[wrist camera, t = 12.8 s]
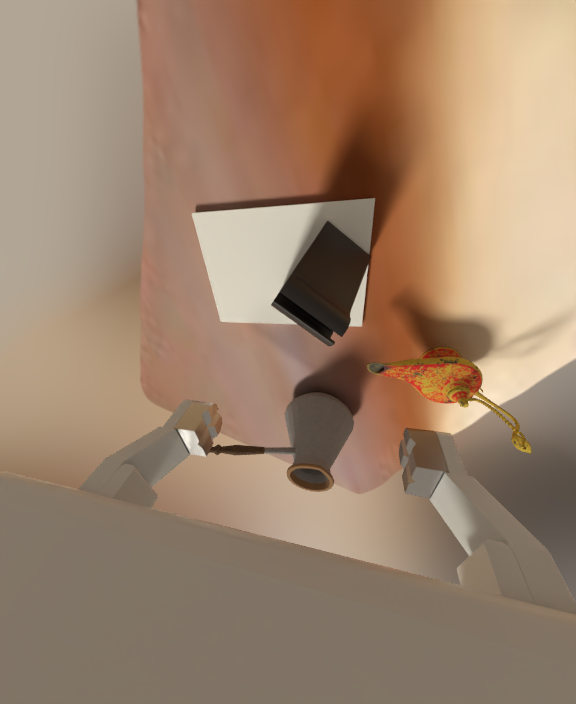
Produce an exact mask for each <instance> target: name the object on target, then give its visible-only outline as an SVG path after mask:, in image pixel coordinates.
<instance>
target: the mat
mask: <svg viewBox="0 0 576 704" xmlns="http://www.w3.org/2000/svg"><path fill="white" fill-rule="evenodd" d="M374 205H375V198H369V199H357V200H344V201H332V202H319V203H307V204H294V205H282V206H270V207H257V208H245V209H232V210H220V211H207V212H195V213H192V216H193V220H194V223H195V227H196V231H197V235H198V238H199V242H200V246H201V250H202V253H203V257H204V261H205V264H206V268H207V272H208V276H209V279H210V283H211V287H212V290H213V294H214V298H215V302H216V305H217V309H218V313H219V317H220V320H221V322H242V323H272V324H296V323H295V322H294V321H292V320H291V319H289V318H288V317H287V316H285V315H284V314H282V313H281V312H279V311H278V310H277V309H275V308H274V307H272V306H271V304H272V302H273V301H274V299H275V298H276V296H277V295H278V293H279V291H280V290H281V288H282V286H283V285H284V284H285V282H286V281H287V279H288V278H289V276H290V275H291V273H292V272H293V270H294V269H295V267H296V266H297V264H298V263H299V262H300V260H301V259H302V257H303V256H304V254H305V253H306V251H307V250H308V248H309V247H310V245H311V244H312V243H313V241H314V240H315V238H316V237H317V235H318V234H319V232H320V231H321V229H322V228H323V226H324V225H325V223H326V222H327V221H329V222H330V223H331V224H333V225H334V226H335V227H336V228H337V229H339V230H340V231H341V232H342V233H343V234H345V235H346V236H347V237H348V238H350V239H351V240H352V241H353V242H354V243H356V244H357V245H358V246H359V247H361V248H362V249H363V250H364V251H365V252H367V253H368V254H369V253H370V244H371V234H372V224H373V215H374ZM367 272H368V266H367V269H366V272H365V274H364V277H363V280H362V282H361V285H360V288H359V290H358V293H357V295H356V298H355V301H354V303H353V306H352V309H351V312H350V318H351V322H350V325H349V326H361V327H362V320H363V311H364V301H365V291H366V282H367Z"/></svg>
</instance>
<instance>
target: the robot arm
mask: <svg viewBox="0 0 576 704" xmlns="http://www.w3.org/2000/svg"><path fill="white" fill-rule="evenodd" d="M217 410H218V407H217V404H213V403H207V402H200V401H194V400H187V399H186V400H184V401H183V402H182V403H181V404H180V405H179V407H178V408H177V409H176V410H175V412H174V413H173V414H172V416H171V417H170V418H169V419H168V421H167V422H166V423H165V425H164V426H163V427H158V428H157V429H155V430H153V431H152V432H150V433H148V434H146V435H145V436H143V437H141V438H140V439H138V440H136V441H134V442H133V443H131V444H130V445H128V446H126V447H124V448H122V449H121V450H119V451H117V452H116V453H114V454H112V455H110V456H109V457H107V458H105V460H104V461H103V462H102V463H101V464H100V465H99V466H98V467H97V468H96V470H95V471H94V472H93V473H92V474H91V475H90V476H89V477H88V479H87V480H86V481H85V482H84V483H83V484H82V485H81V486H80V488H79V489H75V488H71V487H67V486H63V485H58V484H55V483H51V482H46V481H42V480H39V479H34V478H30V477H27V476H23V475H19V474H15V473H11V472H0V704H576V603H575V601H574V599H573V597H572V595H571V593H570V591H569V590H568V588H567V586H566V584H565V582H564V580H563V578H562V576H561V574H560V572H559V570H558V568H557V566H556V564H555V562H554V560H553V558H552V556H551V554H550V552H549V551H548V550H547V549H546V548H545V547H544V546H543V545H542V544H541V543H540V542H539V541H538V540H537V539H536V538H535V537H534V536H533V535H532V534H531V533H530V532H529V531H528V530H526V528H524V526H523V525H521V524H520V523H519V522H518V521H517V520H516V519H515V518H514V517H513V516H512V515H511V514H510V513H509V512H508V511H507V510H506V509H505V508H504V507H503V506H502V505H501V504H500V503H499V502H498V501H497V500H496V499H495V498H494V497H493V496H492V495H491V494H489V492H487V491H486V490H485V488H484V487H482V486H481V485H480V484H479V483H478V482H477V481H476V480H475V479H474V478H473V477H470V476H468V475H467V473H466V470H465V467H464V465H463V462H462V460H461V457H460V454H459V452H458V449H457V446H456V444H455V441H454V439H453V436H452V435H451V434H450V433H444V432H436V431H430V430H422V429H413V428H406V429H405V430H404V433H403V434H404V439H403V440H401V443H400V449H399V457H400V465H401V466H402V467H403V468H404V472H403V475H402V478H403V484H404V490H405V493H406V494H411V495H416V496H421V497H425V498H430V501H431V502H432V504H433V505H434V506H435V508H436V509H437V511H438V512H439V513H440V515H441V516H442V518H443V519H444V521H445V522H446V523H447V525H448V526H449V528H450V529H451V530H452V532H453V533H454V535H455V536H456V538H457V539H458V540H459V542H460V543H461V545H462V546H463V548H464V549H465V550H466V552H467V553H468V555H469V557H468V558H467V559H466V560H465V561H464V562H463V563H462V564H461V565H460V566H459V567H458V568H457V573H458V577H459V581H460V585H457V584H453V583H449V582H445V581H440V580H437V579H433V578H429V577H425V576H421V575H417V574H412V573H409V572H405V571H401V570H397V569H393V568H389V567H385V566H381V565H377V564H373V563H369V562H365V561H361V560H357V559H353V558H349V557H345V556H341V555H337V554H333V553H329V552H325V551H321V550H318V549H314V548H309V547H306V546H302V545H298V544H294V543H289V542H286V541H282V540H277V539H274V538H270V537H266V536H261V535H258V534H254V533H250V532H246V531H242V530H238V529H234V528H230V527H226V526H222V525H218V524H214V523H210V522H206V521H202V520H198V519H194V518H190V517H186V516H182V515H178V514H174V513H170V512H166V511H162V510H158V509H154V508H152V506H153V505H154V503H155V501H156V499H157V494H156V492H155V491H154V490H153V489H152V486H154V485H155V484H156V483H157V482H158V481H159V480H161V479H162V478H163V477H164V476H165V475H167V474H168V473H169V472H170V471H171V470H173V469H174V468H175V467H176V466H177V465H178V464H180V463H181V462H182V461H183V460H185V459H186V458H187V457H188V456H189V454H192V455H199V456H207V455H208V453H209V451H210V449H211V447H212V445H213V438H215V437H216V436H217V435H218V434H219V432H220V430H221V426H222V418H221V415H220V414H219V413H217Z"/></svg>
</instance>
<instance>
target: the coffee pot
mask: <svg viewBox="0 0 576 704" xmlns="http://www.w3.org/2000/svg"><path fill="white" fill-rule="evenodd" d="M285 419H286V424H287V429H288V434H289V439H290V444H291V447H289V448H264V447H256V446H243V445H233V446H224V447H221V446H220V445H217V446H215V447H211V449H210V451H209V453H210V452H212V453H215V454H216V455H218V454H220V453H225V454H232V455H251V454H264V453H266V454H291V455H293V458H294V463H293V465H292V466H290V467H289V468H288V470H287V477H288V479H289V480H290V481H291V482H292V483H293V484H295V485H296V486H298V487H300V488H302V489H305V490H309V491H316V492H317V491H318V492H320V491H326V490H329V489H330V488H331V487H332V486H333V484H334V480H333V477H332V475H331V473H330V468H331V466H332V465H333V463H334V461H335V459H336V458H337V456H338V454H339V452H340V451H341V449H342V447H343V446H344V444H345V442H346V440H347V439H348V437H349V435H350V434H351V432H352V430H353V425H354V421H353V417H352V414H351V413H350V411H349V409H348V408H347V406H346V405H345V404H344V403H343V402H341V401H340V400H338V399H337V398H335V397H333V396H331V395H329V394H326V393H320V392H313V393H307V394H304V395H300V396H298V397H297V398H295V399H294V400H293V401H292V402H291V403H290V404H289V405H288V406H287V409H286V412H285Z"/></svg>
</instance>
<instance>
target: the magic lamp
mask: <svg viewBox="0 0 576 704" xmlns="http://www.w3.org/2000/svg"><path fill="white" fill-rule="evenodd" d="M367 369H368V370H369V371H370V372H372V373H374V374H378V375H382V376H387V377H392V378H398V379H401V380H404V381H406V382H407V383H409V384H410V385H412V386H413V387H414V388H415V389H416V390H417V391H418V392H419V393H420V394H421V395H422V396H424V397H425V398H427V399H429V400H431V401H434V402H438V403H456V402H458V403H459V404H460V406H462V407H468V401H477V402H479V403H481V404H483V405H485V406H486V407H488V408H489V409H491V411H493V412H494V413H496V415H499V417H500V418H502V420H503V421H505V423H506V424H508V426H509V427H511V428H512V430H513V434H512V439H511V440H512V442H513V444H514V446H515V447H516V448H517V449H519V450H521V451H524V452H528V453H531V446H530V444H529V442H528V441H527V440H526V439H525V437H524V435H523V434H522V433H521V432H519V429H520V425H519V423H518V421H517V420H516V419H515V418H514V417H513V416H512V415H510V414H509V413H508V412H506V411H505V410H503V409H502V408H500V407H499V406H498V405H496V404H495V403H493V402H492V401H490V400H489V399H487V398H486V397H484V396H483V395H482V394H481V393H479V391H478V390H479V389H481V388H480V387H481V385H482V374H481V371H480V370H479V368H478V367H477V366H476V365H475V364H473V363H472V362H470V361H468V360H466V359H463V358H461V356H460V354H459V353H458V352H457V351H456V350H454V349H452V348H447V347H439V348H434V349H431V350H429V351H427V352H426V353H424V354H423V355H422V356H421V358H420V359H410V360H403V361H398V362H392V363H376V362H373V363H369V364H368V365H367ZM481 391H482V392H483V390H482V389H481ZM473 395H476V396H478V397H479V398H481V399H483V400H484V401H486V402H488V403H489V404H491V405H492V406H494V407H495V408H497V409H499V410H500V411H501V412H503V413H504V414H506V415H507V416H508V417H509V418H511V419H512V420H513V421H514V423H515V425H516V428H515V427H514V426H512V424H511V423H509V421H508V420H506V419H505V417H503V416H502V414H500V413H499V412H498V411H497V410H496V409H494V408H493V407H491V405H489V404H487V405H486V402H484V401H482V400H480V399H479V400H478V399H476V398H472V397H473ZM518 434H520V435H521V436H522V437H520V436H517V435H518Z"/></svg>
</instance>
